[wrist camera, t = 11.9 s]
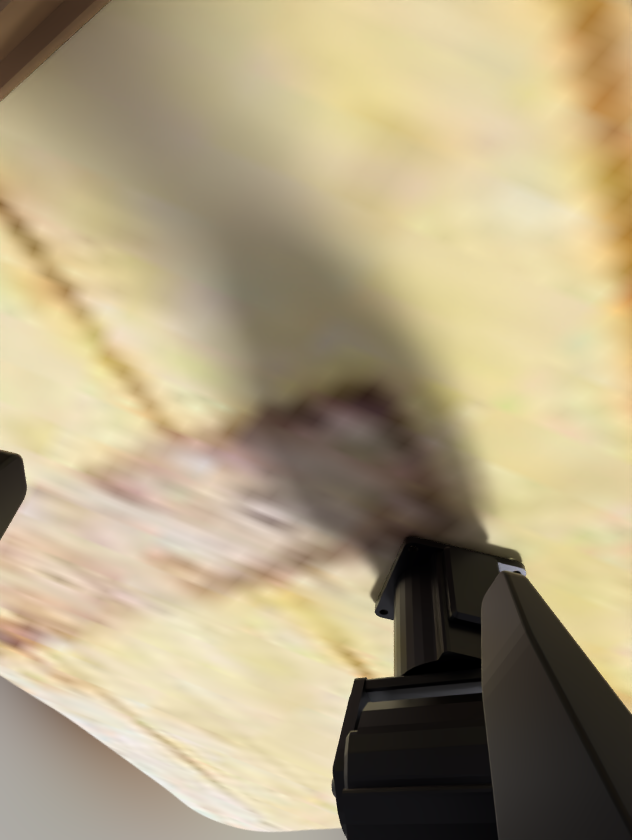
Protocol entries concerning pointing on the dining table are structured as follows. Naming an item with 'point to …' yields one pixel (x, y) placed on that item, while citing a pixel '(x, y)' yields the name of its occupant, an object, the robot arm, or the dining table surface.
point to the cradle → (37, 33)
